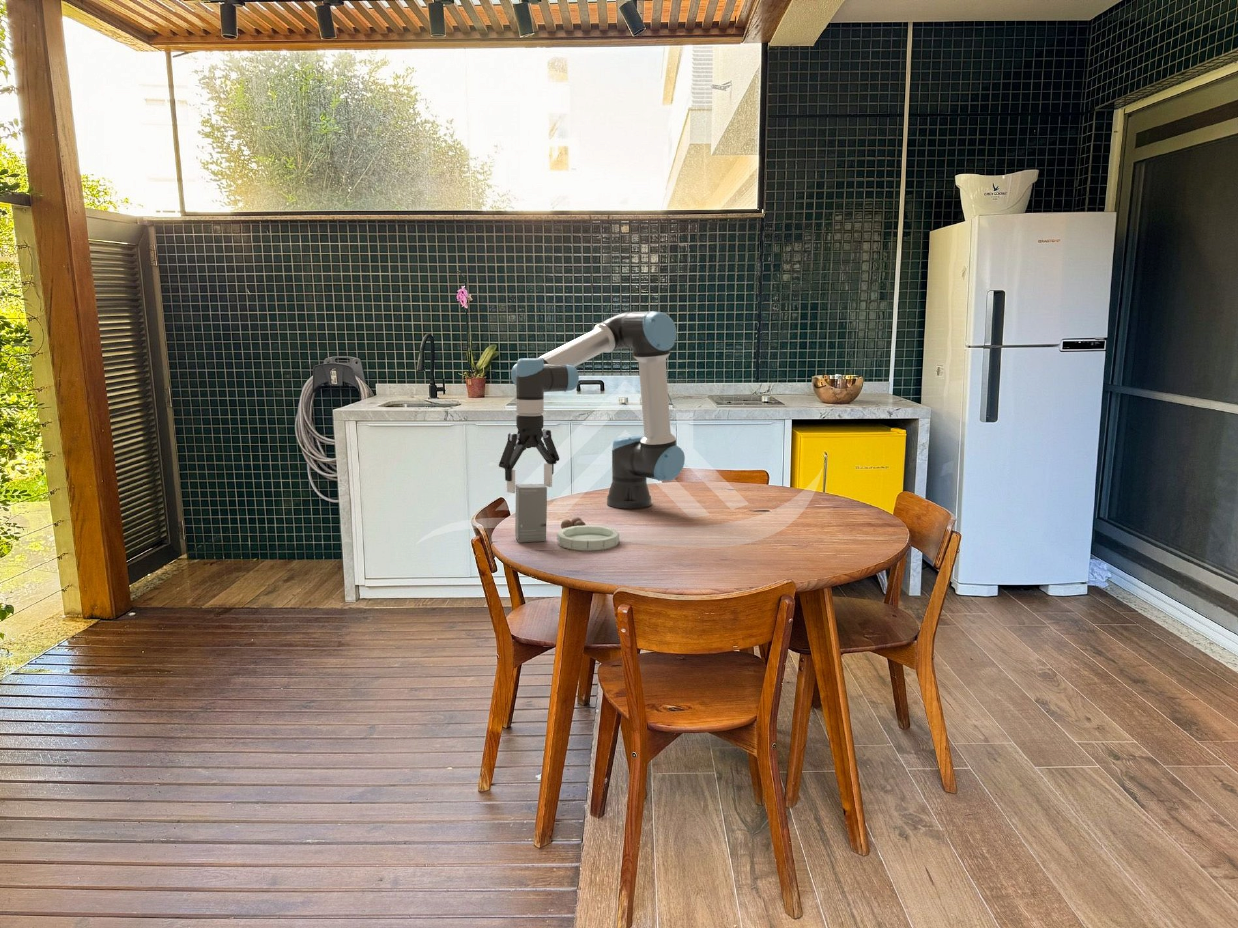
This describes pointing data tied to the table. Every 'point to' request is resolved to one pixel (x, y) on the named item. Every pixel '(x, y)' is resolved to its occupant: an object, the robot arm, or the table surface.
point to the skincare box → (531, 512)
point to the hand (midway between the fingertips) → (529, 489)
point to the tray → (588, 538)
